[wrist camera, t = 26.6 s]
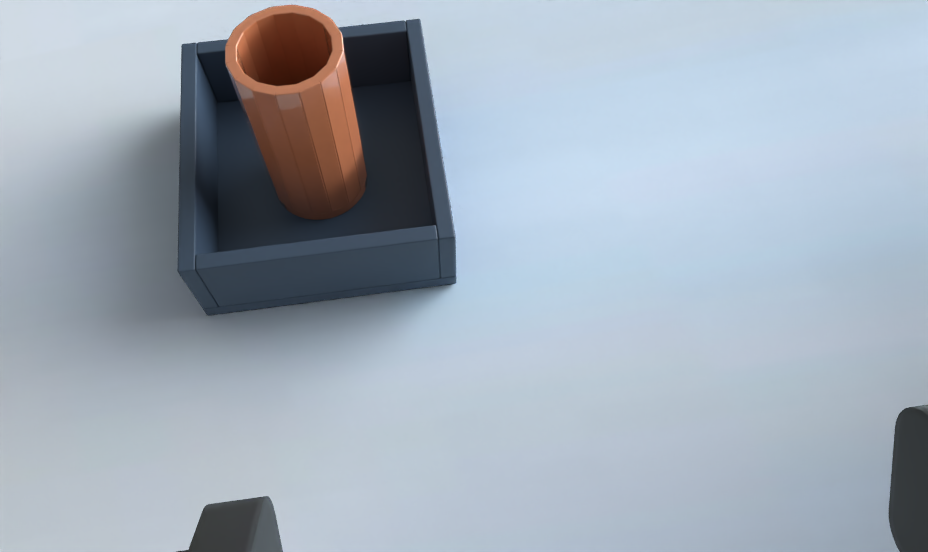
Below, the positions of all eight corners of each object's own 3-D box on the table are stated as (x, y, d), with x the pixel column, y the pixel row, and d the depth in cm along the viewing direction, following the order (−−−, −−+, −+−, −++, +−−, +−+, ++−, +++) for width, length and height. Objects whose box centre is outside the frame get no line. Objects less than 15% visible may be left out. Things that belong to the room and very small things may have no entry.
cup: (363, 137, 45) (338, -1, 36) (371, 214, 42) (347, 87, 33) (272, 147, 44) (224, 10, 35) (275, 225, 42) (225, 100, 33)
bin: (423, 78, 47) (420, 18, 43) (456, 283, 41) (455, 236, 37) (206, 102, 47) (181, 43, 42) (207, 316, 40) (176, 272, 36)
